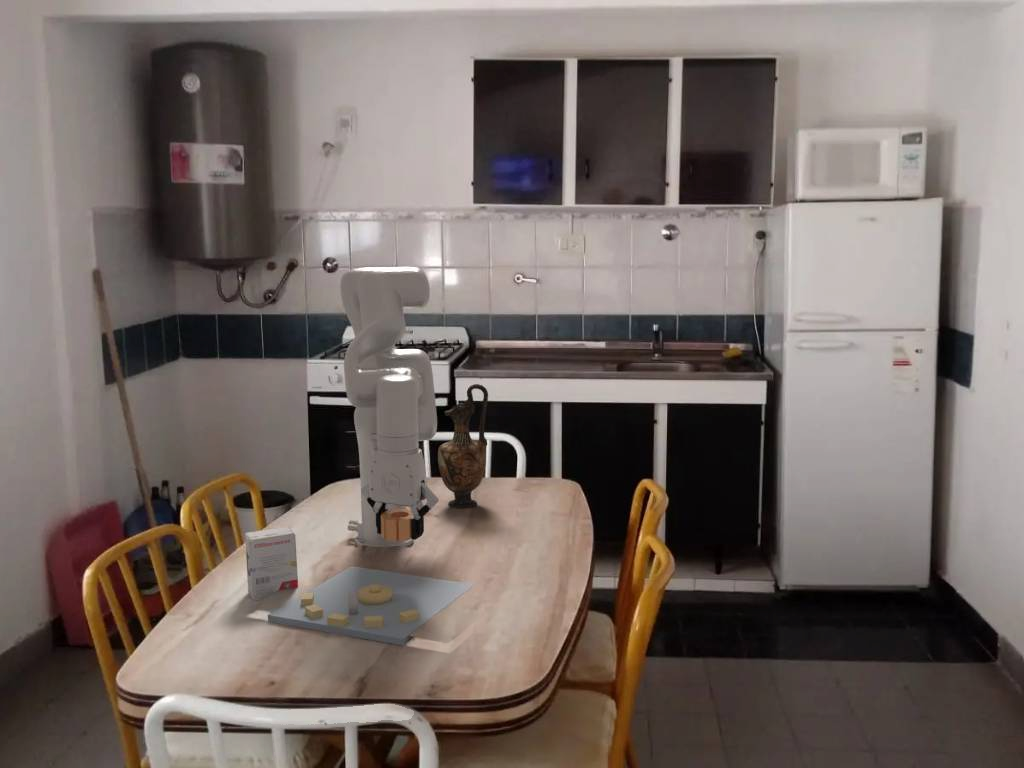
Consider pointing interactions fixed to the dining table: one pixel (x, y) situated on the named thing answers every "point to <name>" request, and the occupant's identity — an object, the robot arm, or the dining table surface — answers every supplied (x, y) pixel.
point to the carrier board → (370, 604)
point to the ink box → (271, 561)
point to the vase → (464, 452)
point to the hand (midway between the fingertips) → (399, 533)
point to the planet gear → (396, 525)
